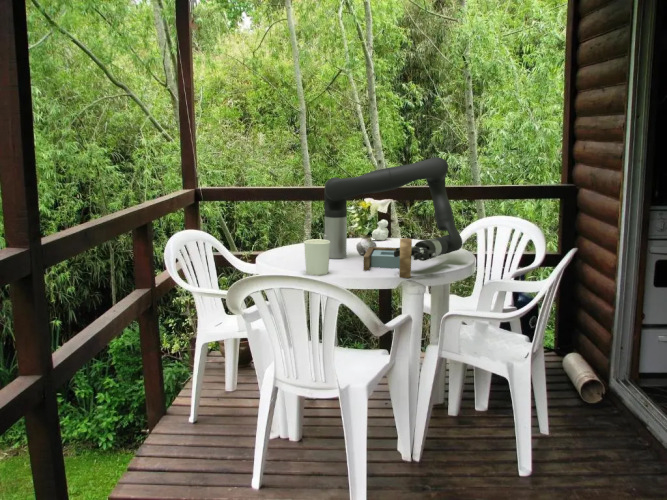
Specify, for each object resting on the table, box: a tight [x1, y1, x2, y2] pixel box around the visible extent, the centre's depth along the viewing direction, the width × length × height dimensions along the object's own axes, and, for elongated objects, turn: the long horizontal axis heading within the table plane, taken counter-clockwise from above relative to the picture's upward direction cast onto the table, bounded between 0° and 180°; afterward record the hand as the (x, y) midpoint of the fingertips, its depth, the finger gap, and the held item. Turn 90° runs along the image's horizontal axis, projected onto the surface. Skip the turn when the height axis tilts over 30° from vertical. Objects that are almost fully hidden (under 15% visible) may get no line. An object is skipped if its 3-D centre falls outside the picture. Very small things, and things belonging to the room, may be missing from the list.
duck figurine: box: [371, 219, 390, 242], centre depth 317 cm, size 12×8×11 cm
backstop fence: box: [363, 246, 397, 271], centre depth 260 cm, size 16×20×6 cm
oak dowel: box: [398, 237, 413, 279], centre depth 240 cm, size 4×4×14 cm
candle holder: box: [303, 238, 330, 276], centre depth 246 cm, size 10×10×12 cm
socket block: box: [370, 250, 400, 270], centre depth 261 cm, size 12×12×5 cm
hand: (404, 255), depth 239 cm, fingers open, 8 cm apart
